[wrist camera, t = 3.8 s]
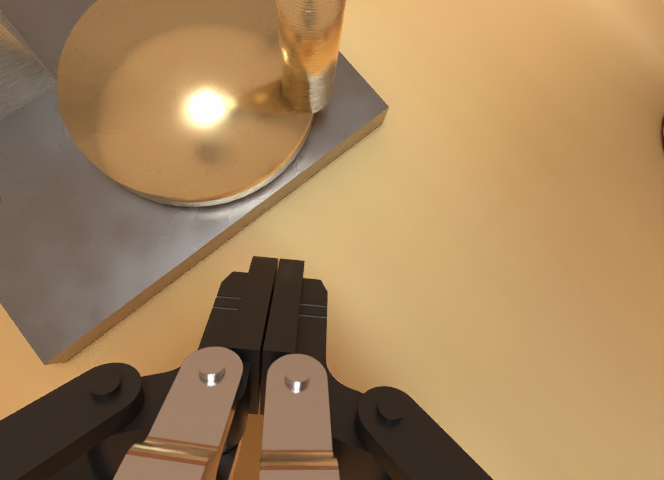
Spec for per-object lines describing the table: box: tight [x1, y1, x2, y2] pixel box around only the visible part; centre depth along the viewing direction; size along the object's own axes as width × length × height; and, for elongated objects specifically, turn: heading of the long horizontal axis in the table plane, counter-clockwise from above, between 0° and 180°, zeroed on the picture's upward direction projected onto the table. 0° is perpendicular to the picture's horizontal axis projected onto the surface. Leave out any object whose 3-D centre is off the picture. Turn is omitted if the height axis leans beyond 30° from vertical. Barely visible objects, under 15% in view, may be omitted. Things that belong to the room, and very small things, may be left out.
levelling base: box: [0, 0, 389, 365], centre depth 21 cm, size 22×20×10 cm
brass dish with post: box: [57, 0, 346, 207], centre depth 19 cm, size 13×13×10 cm
